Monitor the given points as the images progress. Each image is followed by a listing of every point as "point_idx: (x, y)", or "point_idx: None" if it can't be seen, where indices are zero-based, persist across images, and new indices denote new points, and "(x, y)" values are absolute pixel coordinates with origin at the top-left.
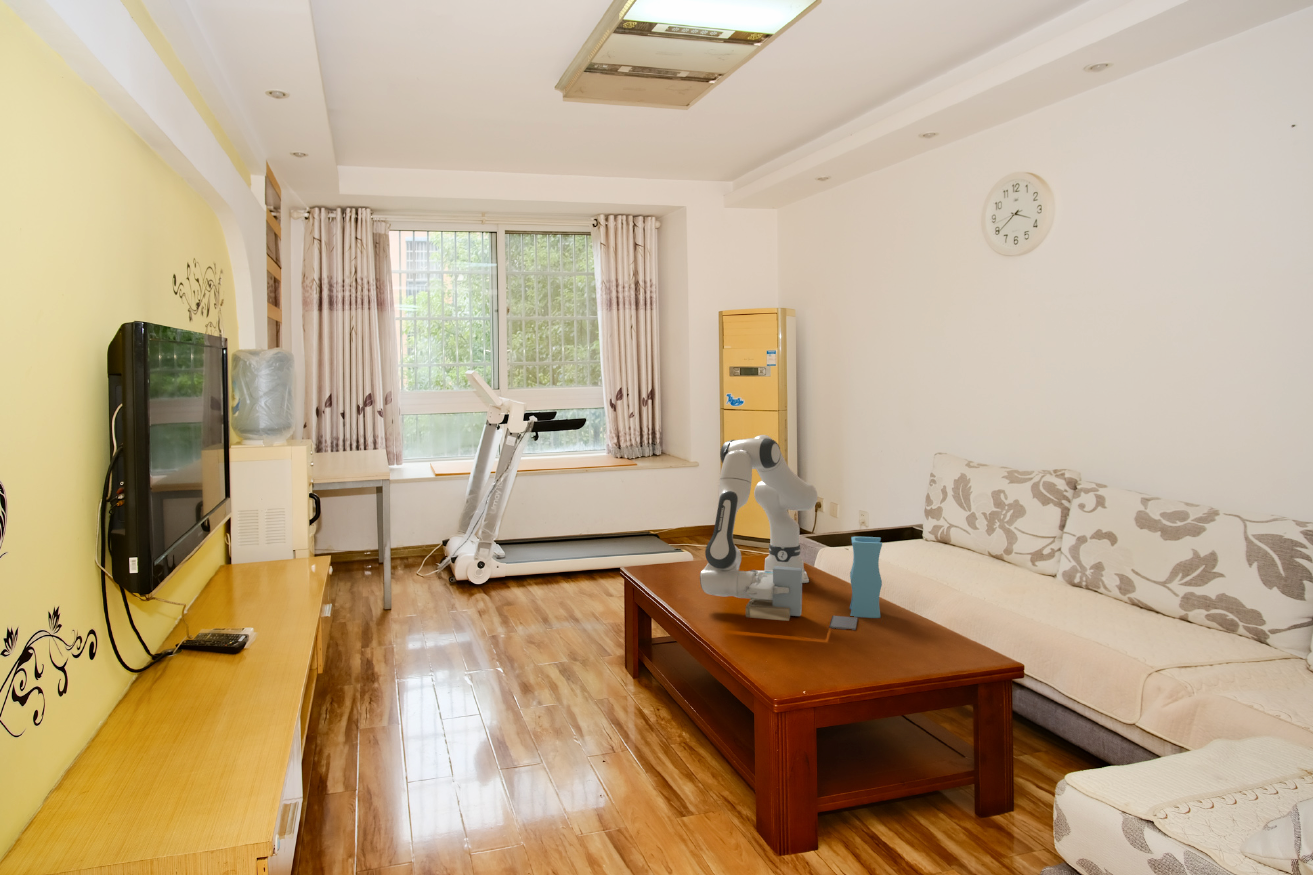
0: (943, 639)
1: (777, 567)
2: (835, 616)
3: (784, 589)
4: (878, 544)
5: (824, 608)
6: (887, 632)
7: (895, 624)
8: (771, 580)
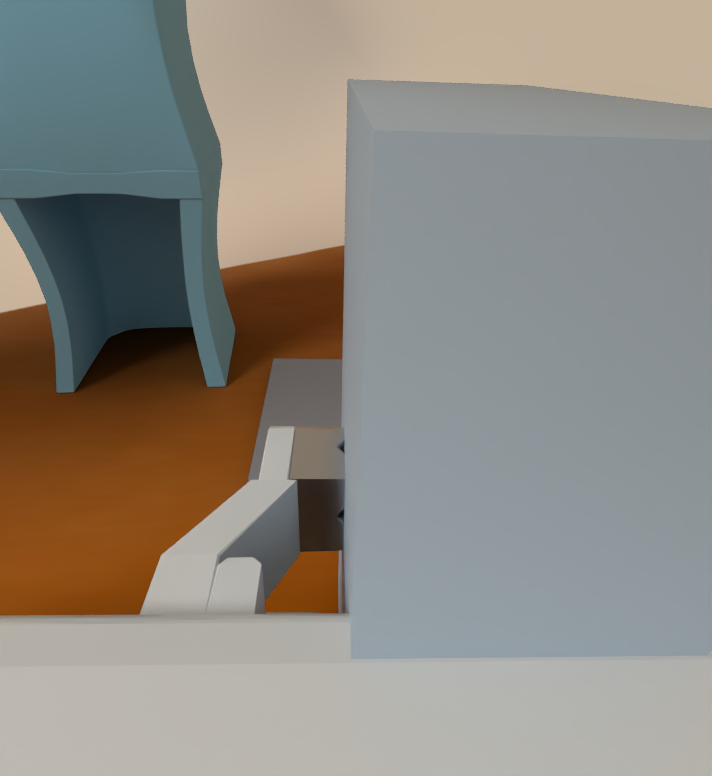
0: None
1: (588, 118)
2: (274, 422)
3: None
4: None
5: (32, 491)
6: None
7: (312, 297)
8: (447, 762)
